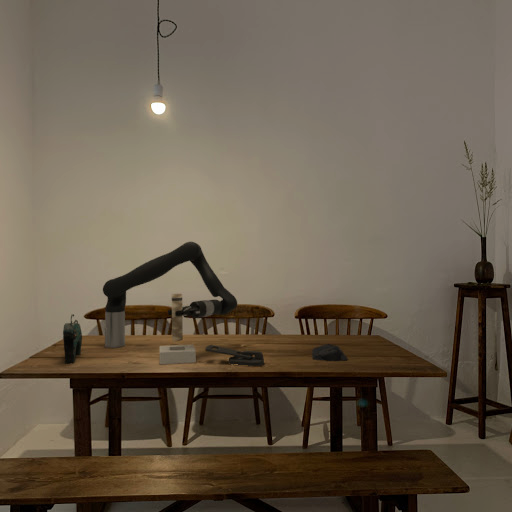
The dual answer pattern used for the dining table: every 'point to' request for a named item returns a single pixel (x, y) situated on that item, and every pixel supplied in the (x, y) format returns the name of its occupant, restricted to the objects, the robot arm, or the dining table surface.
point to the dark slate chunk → (328, 353)
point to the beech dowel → (177, 318)
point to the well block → (177, 354)
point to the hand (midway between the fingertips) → (172, 313)
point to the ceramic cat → (72, 340)
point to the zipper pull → (239, 356)
